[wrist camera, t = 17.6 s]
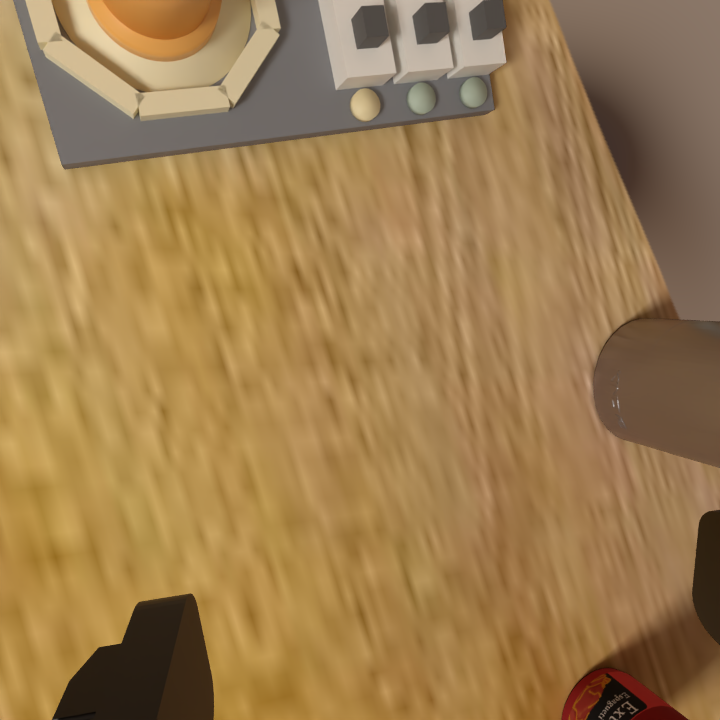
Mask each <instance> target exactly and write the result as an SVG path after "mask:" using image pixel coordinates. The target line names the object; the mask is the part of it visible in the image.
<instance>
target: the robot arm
mask: <svg viewBox="0 0 720 720" xmlns="http://www.w3.org/2000/svg"><path fill="white" fill-rule="evenodd" d="M593 386H594V400H595V404H596V409H597V412H598V414H599V416H600V418H601V421H602V422H603V423H604V425H605V426H606V428H607V429H608V430H609V431H610V432H612V433H613V434H614V435H615V436H617V437H619V438H622V439H624V440H627V441H630V442H634V443H637V444H640V445H644V446H647V447H651V448H654V449H657V450H661V451H664V452H668V453H670V454H674V455H677V456H680V457H684V458H687V459H691V460H694V461H698V462H701V463H704V464H708V465H711V466H715V467H718V468H720V322H715V321H696V320H674V319H638V320H634V321H631V322H629V323H627V324H626V325H624V326H622V327H621V328H620V329H619V330H618V331H616V332H615V333H614V334H613V335H612V336H611V338H610V339H609V341H608V342H607V343H606V345H605V346H604V348H603V350H602V352H601V355H600V357H599V359H598V363H597V366H596V370H595V376H594V384H593ZM692 596H693V602H694V606H695V610H696V612H697V615H698V617H699V619H700V621H701V623H702V625H703V626H704V628H705V629H706V631H707V632H708V633H709V634H710V635H711V636H712V638H713V639H714V640H715V641H716V642H717V643H718V644H719V645H720V510H716V511H709V512H707V513H705V514H704V515H703V516H702V517H701V519H700V522H699V528H698V538H697V548H696V559H695V569H694V579H693V590H692ZM213 717H214V692H213V681H212V675H211V670H210V665H209V660H208V655H207V650H206V646H205V641H204V636H203V631H202V626H201V622H200V617H199V612H198V607H197V603H196V600H195V598H194V596H193V594H185V595H179V596H173V597H167V598H160V599H154V600H148V601H142V602H139V603H138V604H137V605H136V607H135V609H134V611H133V614H132V616H131V619H130V622H129V625H128V627H127V630H126V633H125V635H124V638H123V641H122V643H121V644H116V645H110V646H104V647H99V648H98V649H97V650H96V651H95V653H94V654H93V655H92V656H91V657H90V658H89V659H88V660H87V662H86V663H85V664H84V665H83V666H82V667H81V668H80V670H79V671H78V672H77V673H76V674H75V675H74V676H73V678H72V679H71V680H70V681H69V683H68V685H67V688H66V690H65V692H64V694H63V697H62V699H61V701H60V703H59V705H58V708H57V710H56V712H55V714H54V717H53V719H52V720H213Z"/></svg>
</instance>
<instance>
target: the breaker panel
mask: <svg viewBox="0 0 720 720" xmlns="http://www.w3.org/2000/svg"><path fill="white" fill-rule="evenodd" d="M13 1H14V5H15V8H16V11H17V15H18V18H19V22H20V25H21V28H22V32H23V35H24V39H25V42H26V45H27V49H28V52H29V56H30V59H31V62H32V66H33V69H34V73H35V76H36V79H37V83H38V86H39V89H40V93H41V96H42V100H43V103H44V106H45V110H46V113H47V117H48V120H49V123H50V127H51V130H52V134H53V137H54V140H55V144H56V147H57V151H58V154H59V157H60V161H61V164H62V166H63V168H64V169H71V168H79V167H87V166H95V165H102V164H110V163H118V162H125V161H133V160H141V159H148V158H156V157H164V156H171V155H179V154H187V153H194V152H202V151H210V150H217V149H225V148H233V147H240V146H248V145H256V144H264V143H271V142H279V141H287V140H294V139H302V138H310V137H317V136H325V135H333V134H340V133H348V132H356V131H363V130H371V129H379V128H386V127H394V126H402V125H410V124H417V123H425V122H433V121H440V120H448V119H456V118H463V117H471V116H479V115H485V114H487V113H489V112H491V111H493V110H495V109H494V102H493V95H492V89H491V82H490V75H489V74H490V73H491V72H493V71H494V70H496V69H498V68H499V67H501V66H502V65H504V64H505V63H506V56H505V49H504V42H503V35H502V31H503V30H504V29H505V28H506V21H505V14H504V7H503V0H222V3H221V9H220V13H219V17H218V21H217V24H216V27H215V30H214V32H213V34H212V36H211V38H210V39H209V41H208V42H207V44H206V45H205V46H204V47H203V48H202V49H201V50H199V51H198V52H197V53H195V54H194V55H192V56H190V57H188V58H185V59H182V60H178V61H172V62H160V61H153V60H148V59H145V58H142V57H139V56H137V55H134V54H132V53H130V52H128V51H127V50H125V49H124V48H122V47H120V46H119V45H118V44H117V43H115V42H114V41H113V40H112V39H111V38H110V37H109V36H108V35H107V34H106V33H105V32H104V31H103V30H102V28H101V27H100V26H99V25H98V23H97V22H96V20H95V19H94V17H93V15H92V13H91V11H90V9H89V7H88V4H87V2H86V0H13Z"/></svg>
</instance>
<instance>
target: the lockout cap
mask: <svg viewBox="0 0 720 720" xmlns="http://www.w3.org/2000/svg"><path fill="white" fill-rule="evenodd" d="M86 2H87V4H88V7H89V9H90V11H91V13H92V15H93V17H94V19H95V20H96V22H97V23H98V25H99V26H100V27H101V28H102V30H103V31H104V32H105V33H106V34H107V35H108V36H109V37H110V38H111V39H112V40H113V41H114V42H115V43H117V44H118V45H119V46H120V47H122V48H124V49H125V50H127V51H128V52H130V53H132V54H134V55H137V56H139V57H142V58H145V59H148V60H153V61H160V62H172V61H178V60H182V59H185V58H188V57H190V56H192V55H194V54H195V53H197V52H198V51H199V50H201V49H202V48H203V47H204V46H205V45H206V44H207V42H208V41H209V39H210V38H211V36H212V34H213V32H214V30H215V27H216V24H217V21H218V17H219V13H220V9H221V3H222V0H86Z"/></svg>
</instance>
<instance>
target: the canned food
mask: <svg viewBox="0 0 720 720" xmlns="http://www.w3.org/2000/svg"><path fill="white" fill-rule="evenodd" d="M562 720H688V719H687V718H686V717H684V716H683V715H682V714H680V713H679V712H678V711H676V710H675V709H674V708H673V707H671V706H670V705H669V704H667V703H666V702H665V701H663V700H662V699H661V698H659V697H658V696H657V695H656V694H654V693H653V692H652V691H650V690H649V689H648V688H646V687H645V686H644V685H642V684H641V683H640V682H639V681H637V680H636V679H635V678H633V677H632V676H631V675H629V674H627V673H624V672H622V671H619V670H617V669H613V668H603V669H599V670H596V671H594V672H592V673H590V674H589V675H587V676H586V677H584V678H583V679H582V680H581V681H580V682H579V683H578V684H577V685H576V686H575V688H574V689H573V690H572V692H571V694H570V695H569V697H568V699H567V701H566V704H565V707H564V710H563V714H562Z"/></svg>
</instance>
